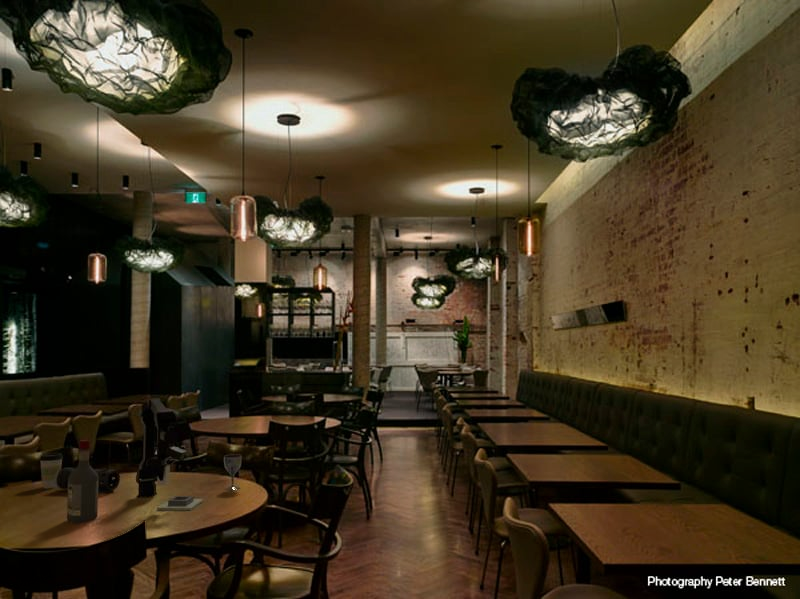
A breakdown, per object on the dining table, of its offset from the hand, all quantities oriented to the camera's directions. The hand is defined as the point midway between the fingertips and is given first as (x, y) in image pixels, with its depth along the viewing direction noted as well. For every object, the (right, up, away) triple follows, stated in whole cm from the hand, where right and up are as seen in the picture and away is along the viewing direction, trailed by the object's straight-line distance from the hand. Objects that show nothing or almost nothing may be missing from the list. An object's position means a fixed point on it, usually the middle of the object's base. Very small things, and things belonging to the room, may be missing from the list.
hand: (163, 479), depth 251 cm
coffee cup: (-69, -15, +40) cm, 81 cm away
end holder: (+5, -12, +4) cm, 14 cm away
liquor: (-26, -11, -15) cm, 32 cm away
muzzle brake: (-47, -15, +31) cm, 58 cm away
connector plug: (0, -2, 0) cm, 2 cm away
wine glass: (+19, -14, +34) cm, 41 cm away
